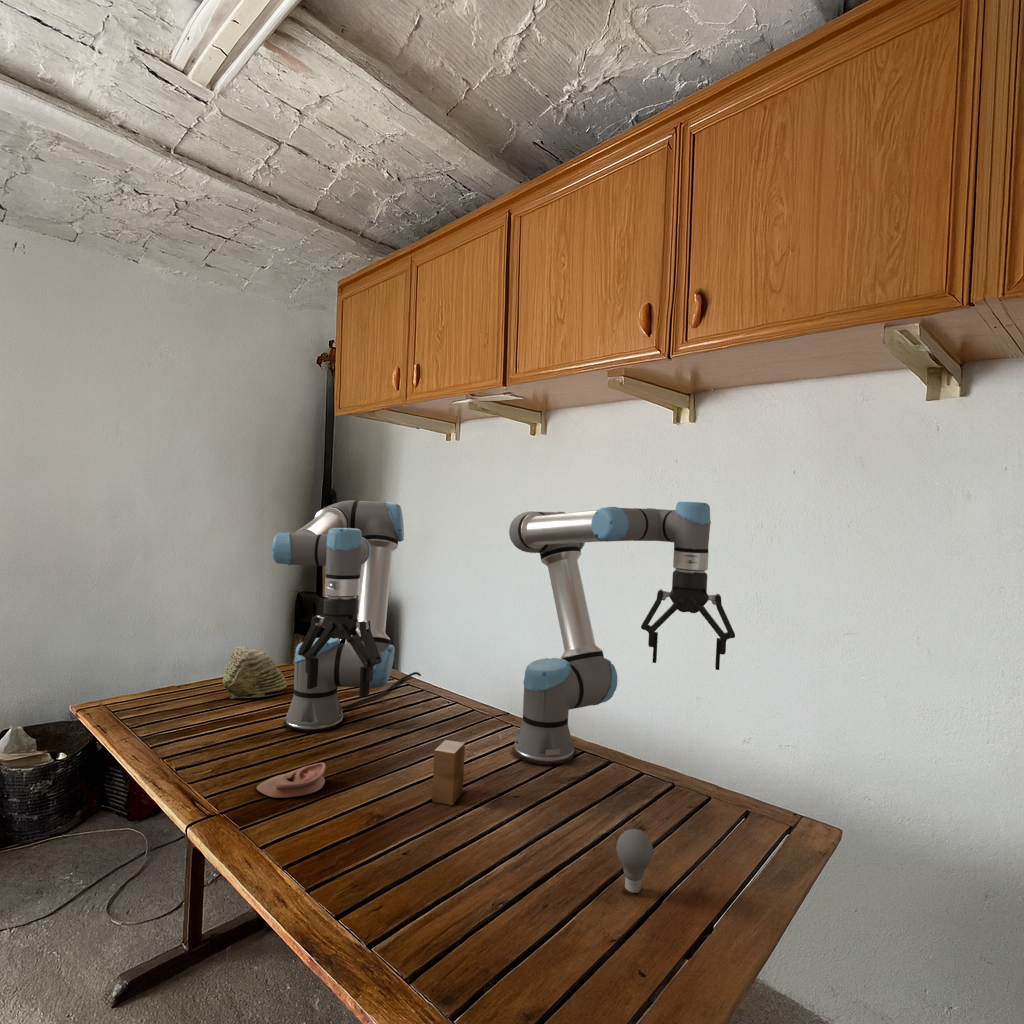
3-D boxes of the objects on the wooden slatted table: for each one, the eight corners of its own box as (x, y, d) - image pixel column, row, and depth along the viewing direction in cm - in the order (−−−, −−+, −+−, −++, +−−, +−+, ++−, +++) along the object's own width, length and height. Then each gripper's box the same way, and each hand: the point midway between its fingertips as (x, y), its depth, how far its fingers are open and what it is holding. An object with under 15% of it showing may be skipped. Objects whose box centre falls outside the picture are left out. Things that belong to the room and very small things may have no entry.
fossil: (218, 695, 195) (220, 647, 195) (278, 685, 208) (279, 640, 207) (228, 703, 189) (230, 653, 188) (289, 692, 201) (290, 645, 201)
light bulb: (610, 879, 108) (613, 822, 108) (644, 879, 109) (647, 822, 109) (619, 902, 102) (622, 840, 102) (655, 901, 103) (658, 840, 103)
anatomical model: (248, 775, 133) (279, 754, 144) (247, 794, 133) (278, 771, 144) (306, 783, 130) (332, 761, 142) (305, 802, 130) (332, 779, 142)
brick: (443, 789, 140) (445, 739, 140) (462, 792, 139) (464, 742, 138) (432, 801, 134) (434, 750, 134) (452, 805, 133) (454, 753, 132)
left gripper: (284, 594, 142) (280, 688, 142) (382, 603, 134) (377, 703, 134) (305, 590, 150) (301, 680, 149) (399, 599, 141) (395, 694, 141)
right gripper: (632, 568, 142) (627, 662, 142) (750, 576, 135) (745, 675, 135) (635, 565, 149) (630, 655, 149) (747, 573, 142) (743, 667, 142)
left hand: (337, 691), depth 142 cm, fingers open, 13 cm apart
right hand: (685, 665), depth 142 cm, fingers open, 13 cm apart
